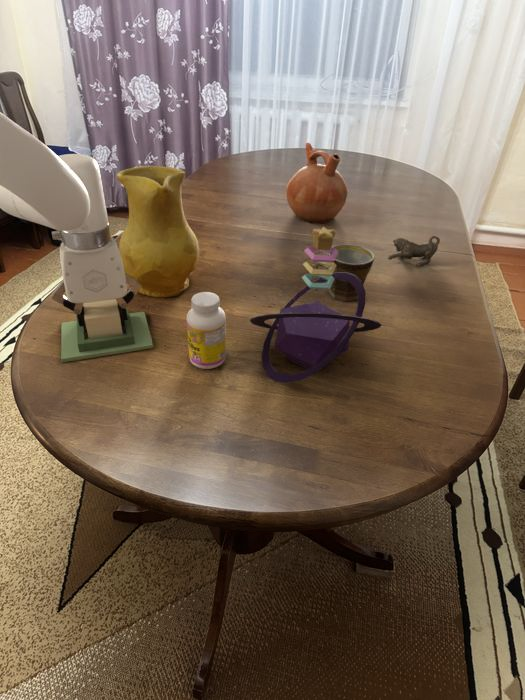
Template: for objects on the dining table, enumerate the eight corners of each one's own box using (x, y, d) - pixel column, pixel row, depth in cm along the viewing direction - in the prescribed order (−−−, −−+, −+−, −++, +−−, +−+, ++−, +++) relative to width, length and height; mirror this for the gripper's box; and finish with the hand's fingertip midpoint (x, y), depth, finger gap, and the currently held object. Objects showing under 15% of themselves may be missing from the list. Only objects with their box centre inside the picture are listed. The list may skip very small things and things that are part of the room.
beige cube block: (89, 339, 85) (84, 319, 83) (87, 322, 90) (83, 302, 87) (122, 334, 87) (119, 314, 84) (119, 317, 91) (116, 297, 89)
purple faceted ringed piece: (359, 328, 95) (382, 209, 80) (379, 399, 78) (415, 264, 63) (249, 325, 95) (252, 204, 80) (247, 395, 78) (250, 258, 63)
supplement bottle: (184, 352, 86) (180, 292, 79) (218, 345, 89) (216, 285, 81) (196, 374, 82) (192, 312, 74) (231, 365, 84) (231, 304, 76)
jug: (273, 210, 147) (277, 142, 135) (321, 202, 154) (328, 138, 142) (304, 231, 134) (312, 159, 122) (354, 222, 142) (366, 153, 129)
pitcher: (112, 300, 99) (98, 179, 85) (135, 265, 115) (126, 157, 101) (193, 306, 100) (191, 187, 86) (204, 270, 115) (205, 164, 101)
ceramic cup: (354, 281, 111) (361, 242, 105) (374, 302, 104) (383, 261, 98) (303, 287, 108) (308, 247, 102) (321, 310, 100) (326, 268, 94)
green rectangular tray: (62, 362, 83) (58, 350, 81) (62, 326, 92) (59, 314, 90) (153, 348, 87) (151, 336, 86) (144, 314, 96) (143, 303, 95)
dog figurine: (431, 259, 123) (438, 232, 119) (434, 269, 119) (442, 241, 114) (385, 254, 124) (391, 227, 120) (386, 264, 120) (393, 236, 115)
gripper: (28, 250, 72) (55, 344, 83) (142, 239, 77) (153, 329, 88) (31, 231, 77) (56, 321, 88) (137, 222, 82) (148, 309, 93)
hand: (104, 324), depth 88 cm, fingers closed on beige cube block, 5 cm apart
